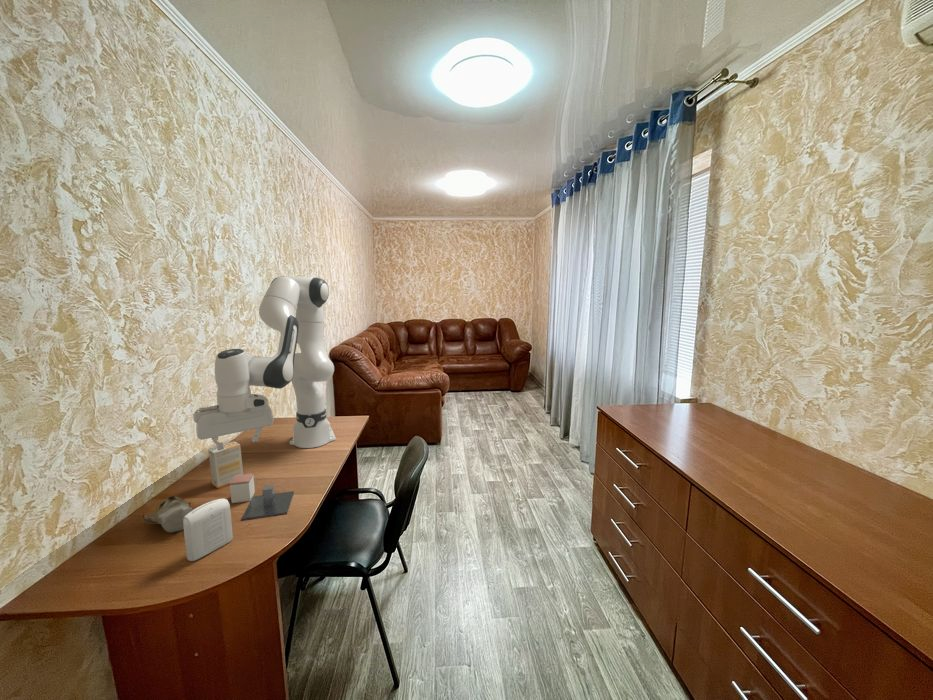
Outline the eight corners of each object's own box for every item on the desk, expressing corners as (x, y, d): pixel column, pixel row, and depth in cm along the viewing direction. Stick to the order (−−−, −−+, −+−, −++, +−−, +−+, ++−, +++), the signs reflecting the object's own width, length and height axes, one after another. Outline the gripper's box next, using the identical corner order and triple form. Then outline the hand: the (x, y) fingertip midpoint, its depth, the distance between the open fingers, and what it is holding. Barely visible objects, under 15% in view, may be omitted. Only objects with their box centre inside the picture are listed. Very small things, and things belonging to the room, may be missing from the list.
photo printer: (227, 534, 99) (222, 492, 97) (236, 539, 97) (232, 496, 95) (183, 558, 90) (177, 512, 88) (192, 564, 88) (187, 517, 86)
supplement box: (237, 475, 131) (234, 440, 129) (244, 479, 128) (240, 444, 126) (211, 484, 124) (207, 448, 122) (217, 489, 121) (213, 452, 119)
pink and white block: (236, 494, 119) (235, 475, 117) (254, 492, 120) (253, 473, 119) (231, 503, 114) (229, 483, 113) (250, 500, 115) (248, 481, 114)
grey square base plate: (253, 497, 117) (251, 480, 116) (294, 492, 120) (292, 475, 119) (241, 520, 105) (239, 501, 104) (287, 513, 109) (285, 495, 108)
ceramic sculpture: (155, 513, 94) (137, 497, 102) (160, 544, 95) (141, 526, 103) (203, 494, 103) (182, 481, 111) (206, 523, 104) (186, 508, 112)
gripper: (194, 411, 102) (198, 458, 105) (273, 398, 116) (276, 440, 118) (191, 406, 107) (196, 451, 109) (268, 394, 121) (270, 434, 123)
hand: (238, 445), depth 114 cm, fingers open, 8 cm apart
